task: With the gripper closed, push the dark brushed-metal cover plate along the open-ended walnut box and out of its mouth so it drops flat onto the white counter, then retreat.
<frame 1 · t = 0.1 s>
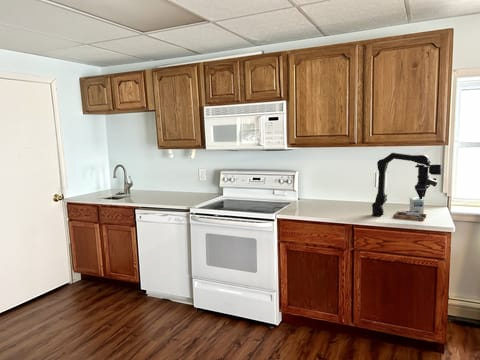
hand: (422, 198, 236), 15 cm above the countertop, fingers open, 9 cm apart
walnut box: (409, 218, 241), on the countertop
cover plate: (413, 217, 240), point 1 cm above the countertop, touching walnut box
light bulb box: (416, 213, 256), on the countertop
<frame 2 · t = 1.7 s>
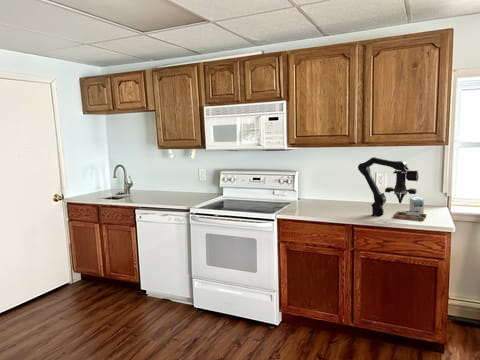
hand: (400, 203, 243), 10 cm above the countertop, fingers closed
nothing on the countertop moved.
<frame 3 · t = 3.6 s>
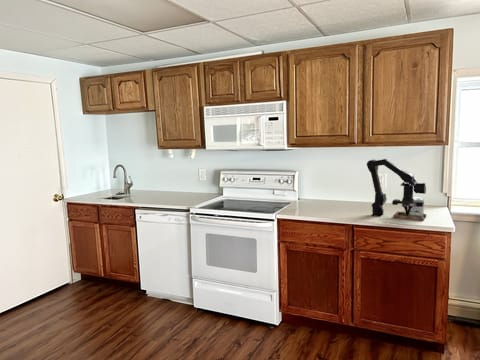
hand: (407, 215, 242), 2 cm above the countertop, fingers closed
cover plate: (416, 218, 239), point 1 cm above the countertop, touching gripper, walnut box
everything else where it was.
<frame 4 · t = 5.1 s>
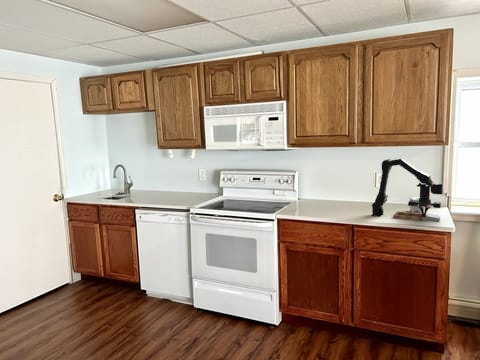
hand: (424, 217, 236), 2 cm above the countertop, fingers closed
cover plate: (432, 220, 234), on the countertop, tilted 6°
everything else where it was.
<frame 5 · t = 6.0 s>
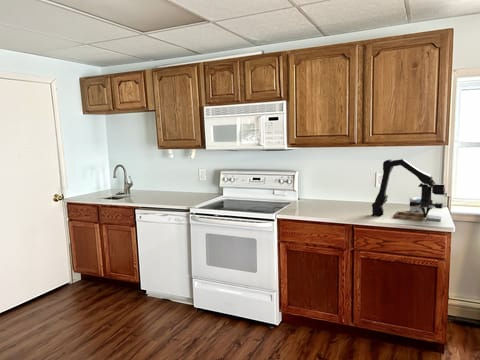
hand: (425, 217, 235), 2 cm above the countertop, fingers closed
cover plate: (433, 221, 234), on the countertop
everything else where it was.
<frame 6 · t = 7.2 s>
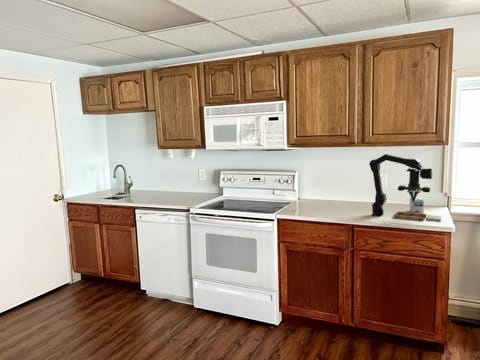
hand: (413, 201, 239), 12 cm above the countertop, fingers closed
nothing on the countertop moved.
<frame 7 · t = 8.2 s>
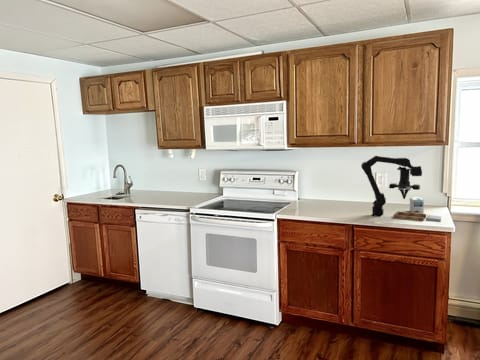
hand: (404, 198, 248), 12 cm above the countertop, fingers closed
nothing on the countertop moved.
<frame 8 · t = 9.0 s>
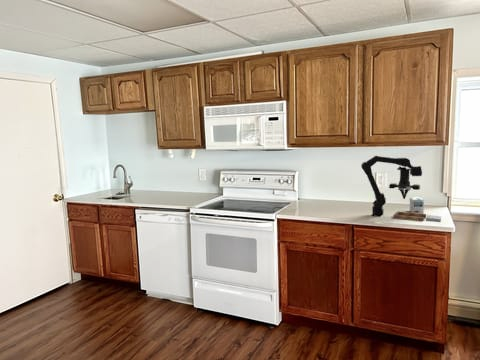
hand: (404, 198, 248), 12 cm above the countertop, fingers closed
nothing on the countertop moved.
at the end: cover plate inside the target area (3.0 cm from its centre), on the countertop; cover plate tilted 0°; cover plate touching countertop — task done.
